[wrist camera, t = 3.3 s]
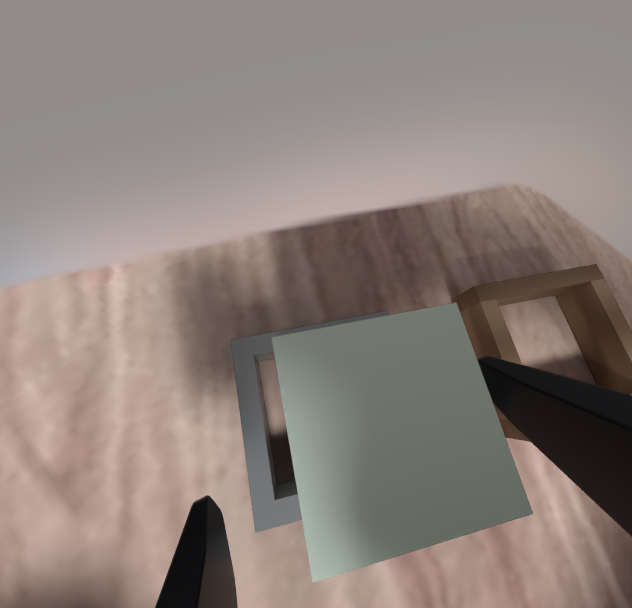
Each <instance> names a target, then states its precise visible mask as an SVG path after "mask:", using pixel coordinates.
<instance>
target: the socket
mask: <svg viewBox="0 0 632 608" xmlns="http://www.w3.org/2000/svg"><path fill="white" fill-rule="evenodd" d="M388 315H389V314H388V311H384V312H378V313H373V314H368V315H362V316H357V317H351V318H346V319H341V320H335V321H330V322H325V323H319V324H314V325H308V326H303V327H298V328H292V329H287V330H281V331H276V332H271V333H265V334H260V335H254V336H249V337H244V338H238V339H233V340H231V347H232V355H233V362H234V370H235V378H236V386H237V394H238V401H239V409H240V417H241V425H242V432H243V440H244V448H245V456H246V464H247V471H248V479H249V487H250V495H251V502H252V510H253V518H254V526H255V533H256V532H260V531H263V530H267V529H270V528H274V527H278V526H281V525H285V524H288V523H292V522H295V521H299V520H302V515H301V510H300V504H299V498H298V492H297V486H296V480H294V481H290V482H286V483H282V484H278V485H277V482H276V476H275V469H274V463H273V456H272V449H271V443H270V436H269V430H268V423H267V417H266V410H265V403H264V397H263V390H262V384H261V377H260V371H259V364H258V361H263V360H268V359H273V358H275V356H274V350H273V344H272V338H271V337H276V336H281V335H287V334H292V333H297V332H303V331H308V330H313V329H319V328H324V327H329V326H335V325H340V324H345V323H351V322H356V321H361V320H367V319H372V318H377V317H382V316H388Z"/></svg>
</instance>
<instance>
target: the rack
mask: <svg viewBox="0 0 632 608" xmlns="http://www.w3.org/2000/svg"><path fill="white" fill-rule="evenodd" d="M553 295H556V297H557V299H558V301H559V303H560V306H561V308H562V310H563V312H564V314H565V316H566V318H567V320H568V323H569V325H570V327H571V329H572V331H573V333H574V335H575V338H576V340H577V342H578V344H579V346H580V348H581V350H582V352H583V355H584V357H585V359H586V361H587V363H588V365H589V367H590V370H591V372H592V374H593V376H594V378H595V380H596V382H597V385H598V386H600V387H604V388H608V389H611V390H615V391H619V392H622V393H626V394H630V395H631V396H632V330H631V328H630V327H629V325H628V323H627V321H626V319H625V317H624V315H623V313H622V311H621V309H620V308H619V306H618V304H617V302H616V300H615V298H614V296H613V294H612V292H611V290H610V289H609V287H608V285H607V283H606V281H605V279H604V277H603V275H602V273H601V272H600V270H599V268H598V266H597V264H594V265H589V266H583V267H577V268H572V269H566V270H561V271H555V272H550V273H544V274H539V275H533V276H528V277H522V278H517V279H511V280H506V281H500V282H495V283H489V284H484V285H478V286H474V287H472V288H470V289H469V290H467V291H465V292H464V293H462V294H461V295H459V296H457V297H456V298H454V299H452V302H453V303H457V306H458V308H459V311H460V314H461V317H462V319H463V322H464V325H465V328H466V330H467V333H468V336H469V339H470V341H471V344H472V347H473V350H474V352H475V355H476V358H477V359H478V358H480V357H482V356H491V357H495V358H499V359H502V360H506V361H510V362H513V363H517V364H520V365H522V363H521V360H520V358H519V355H518V353H517V350H516V348H515V346H514V343H513V341H512V338H511V336H510V333H509V331H508V328H507V326H506V323H505V321H504V318H503V316H502V313H501V311H500V309H499V306H502V305H507V304H512V303H517V302H522V301H527V300H533V299H538V298H543V297H548V296H553ZM493 405H494V404H493ZM494 407H495V410H496V413H497V416H498V418H499V421H500V424H501V427H502V429H503V432H504V435H505V437H507V438H513V439H518V440H524V441H530V440H529V439H527V438H526V437H525V436H524V435H523V434H522V433H521V432H520V431H519V430H518V429H517V428H516V427H515V426H514V425H513V424H512V423H511V422H510V421H509V420H508V419H507V418H506V417H505V416H504V415H503V414H502V413H501V411H500V410H499V409H498V408H497V407H496V406H495V405H494ZM530 442H531V441H530Z"/></svg>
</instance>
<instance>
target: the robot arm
mask: <svg viewBox="0 0 632 608" xmlns="http://www.w3.org/2000/svg"><path fill="white" fill-rule="evenodd" d="M477 361H478V363H479V366H480V369H481V372H482V374H483V377H484V380H485V383H486V385H487V388H488V391H489V394H490V396H491V399H492V402H493V404H494V405H495V406H496V407H497V408H498V409H499V410H500V411H501V413H502V414H503V415H504V416H505V417H506V418H507V419H508V420H509V421H510V422H511V423H512V424H513V425H514V426H515V427H516V428H517V429H518V430H519V431H520V432H521V433H522V434H523V435H524V436H525V437H526V438H527V439H529V440H530V441H531V442H532V443H533V444H534V445H535V446H536V447H537V448H538V449H539V450H540V451H541V452H542V453H543V454H544V455H546V456H547V457H548V458H549V459H550V460H551V461H552V462H553V463H554V464H555V465H556V466H557V467H558V468H559V469H560V470H561V471H562V472H564V473H565V474H566V475H567V476H568V477H569V478H570V479H571V480H572V481H573V482H574V483H575V484H576V485H577V486H578V487H579V488H581V489H582V490H583V491H584V492H585V493H586V494H587V495H588V496H589V497H590V498H591V499H592V500H593V501H594V502H595V503H596V504H598V505H599V506H600V507H601V508H602V509H603V510H604V511H605V512H606V513H607V514H608V515H609V516H610V517H611V518H612V519H613V520H614V521H616V522H617V523H618V524H619V525H620V526H621V527H622V528H623V529H624V530H625V531H626V532H627V533H628V534H629V535H630V536H631V537H632V396H631V395H630V394H626V393H622V392H619V391H615V390H611V389H608V388H604V387H600V386H597V385H593V384H590V383H586V382H582V381H579V380H575V379H571V378H568V377H564V376H560V375H557V374H553V373H550V372H546V371H542V370H539V369H535V368H531V367H528V366H524V365H520V364H517V363H513V362H510V361H506V360H502V359H499V358H495V357H491V356H482V357H480V358H478V359H477ZM155 608H238V607H237V596H236V586H235V578H234V572H233V566H232V561H231V556H230V551H229V545H228V540H227V535H226V530H225V524H224V519H223V515H222V512H221V510H220V508H219V507H218V506H217V504H216V503H215V502H214V501H213V499H212V498H211V497H210V496H205V497H203V498H201V499H199V500H197V501H195V502H194V503H193V505H192V507H191V509H190V512H189V515H188V518H187V520H186V523H185V526H184V529H183V532H182V534H181V537H180V540H179V543H178V545H177V548H176V551H175V554H174V557H173V559H172V562H171V565H170V568H169V570H168V573H167V576H166V579H165V582H164V584H163V587H162V590H161V593H160V595H159V598H158V601H157V604H156V607H155Z"/></svg>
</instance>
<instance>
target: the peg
mask: <svg viewBox="0 0 632 608" xmlns="http://www.w3.org/2000/svg"><path fill="white" fill-rule="evenodd" d="M271 338H272V344H273V350H274V356H275V362H276V368H277V374H278V379H279V385H280V391H281V397H282V403H283V409H284V415H285V421H286V427H287V433H288V439H289V445H290V450H291V456H292V462H293V468H294V474H295V480H296V486H297V492H298V498H299V504H300V510H301V515H302V521H303V527H304V533H305V539H306V545H307V551H308V557H309V563H310V569H311V575H312V581H313V583H314V582H317V581H320V580H323V579H326V578H330V577H333V576H336V575H339V574H342V573H346V572H349V571H352V570H355V569H358V568H362V567H365V566H368V565H371V564H374V563H377V562H381V561H384V560H387V559H390V558H393V557H397V556H400V555H403V554H406V553H409V552H413V551H416V550H419V549H422V548H425V547H428V546H432V545H435V544H438V543H441V542H444V541H448V540H451V539H454V538H457V537H460V536H464V535H467V534H470V533H473V532H476V531H479V530H483V529H486V528H489V527H492V526H495V525H499V524H502V523H505V522H508V521H511V520H515V519H518V518H521V517H524V516H527V515H530V514H533V512H532V509H531V506H530V504H529V501H528V498H527V495H526V493H525V490H524V487H523V484H522V482H521V479H520V476H519V473H518V471H517V468H516V465H515V462H514V460H513V457H512V454H511V451H510V449H509V446H508V443H507V440H506V438H505V435H504V432H503V429H502V427H501V424H500V421H499V418H498V416H497V413H496V410H495V407H494V405H493V402H492V399H491V396H490V394H489V391H488V388H487V385H486V383H485V380H484V377H483V374H482V372H481V369H480V366H479V363H478V361H477V358H476V355H475V352H474V350H473V347H472V344H471V341H470V339H469V336H468V333H467V330H466V328H465V325H464V322H463V319H462V317H461V314H460V311H459V308H458V306H457V303H452V304H446V305H441V306H436V307H430V308H425V309H420V310H414V311H409V312H404V313H398V314H393V315H388V316H382V317H377V318H372V319H367V320H361V321H356V322H351V323H345V324H340V325H335V326H329V327H324V328H319V329H313V330H308V331H303V332H297V333H292V334H287V335H281V336H276V337H271Z"/></svg>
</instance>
